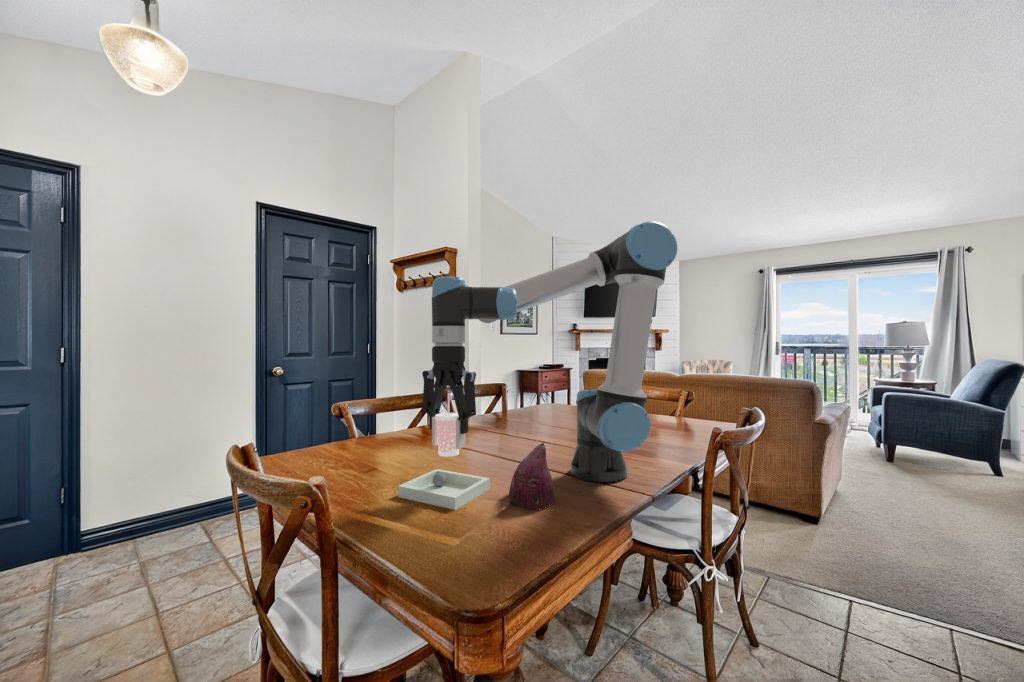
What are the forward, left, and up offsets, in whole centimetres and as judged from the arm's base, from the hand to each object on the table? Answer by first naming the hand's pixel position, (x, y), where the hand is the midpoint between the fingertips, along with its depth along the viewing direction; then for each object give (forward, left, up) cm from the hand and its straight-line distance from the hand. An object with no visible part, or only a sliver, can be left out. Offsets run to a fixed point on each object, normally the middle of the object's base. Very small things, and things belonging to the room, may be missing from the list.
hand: (448, 445), depth 95 cm
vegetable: (-17, -8, -13) cm, 23 cm away
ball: (+6, -4, -11) cm, 14 cm away
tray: (+2, -1, -12) cm, 13 cm away
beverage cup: (0, 0, -2) cm, 2 cm away
